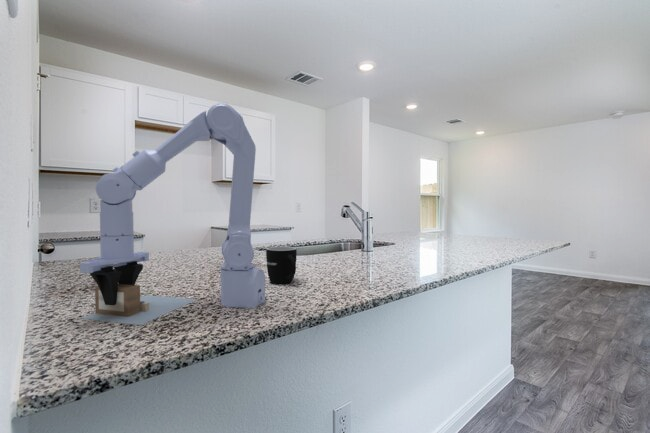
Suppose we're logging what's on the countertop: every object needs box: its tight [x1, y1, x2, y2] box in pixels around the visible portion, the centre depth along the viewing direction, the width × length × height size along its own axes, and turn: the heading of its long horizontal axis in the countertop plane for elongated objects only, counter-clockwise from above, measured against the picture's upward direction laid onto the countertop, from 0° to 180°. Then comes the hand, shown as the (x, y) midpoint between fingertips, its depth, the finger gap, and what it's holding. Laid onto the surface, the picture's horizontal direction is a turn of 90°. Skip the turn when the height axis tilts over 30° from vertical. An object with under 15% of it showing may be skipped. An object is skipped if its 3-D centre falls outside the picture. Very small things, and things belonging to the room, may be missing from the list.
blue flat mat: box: [79, 294, 198, 326], centre depth 71 cm, size 14×17×3 cm
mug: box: [265, 246, 298, 285], centre depth 99 cm, size 12×9×10 cm
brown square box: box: [94, 283, 141, 317], centre depth 68 cm, size 8×3×6 cm, turn 76°
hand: (118, 301), depth 68 cm, fingers closed on brown square box, 3 cm apart
